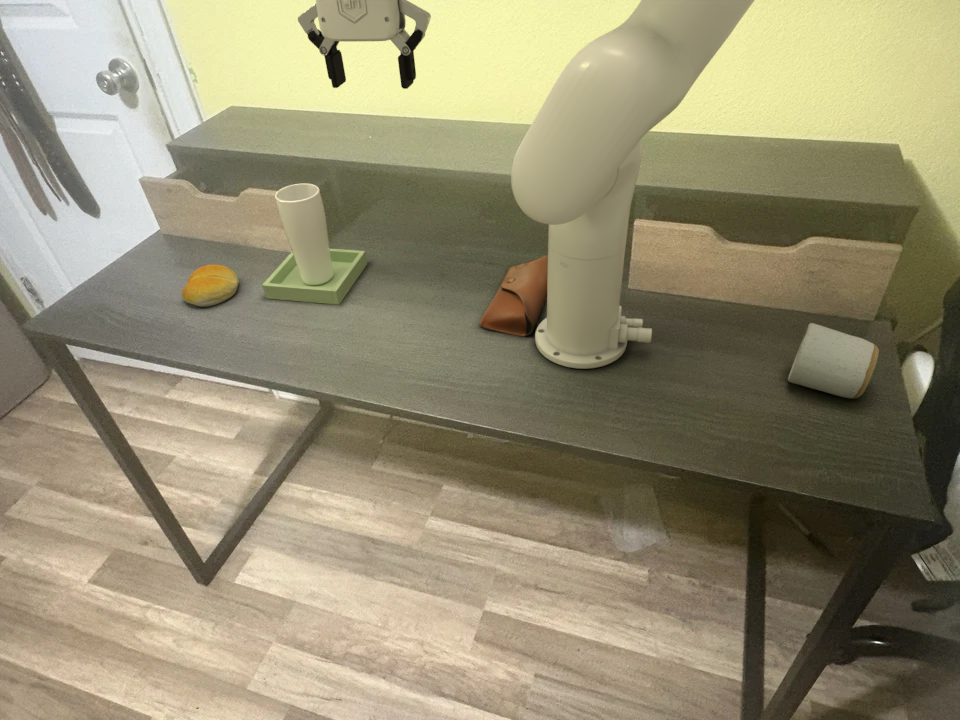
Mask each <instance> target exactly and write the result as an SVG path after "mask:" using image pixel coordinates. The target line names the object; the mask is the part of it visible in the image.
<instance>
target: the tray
mask: <svg viewBox="0 0 960 720" xmlns="http://www.w3.org/2000/svg"><path fill="white" fill-rule="evenodd" d="M366 253H367V252H366V251H365V250H357V249H343V248H330V254H331V261H332V266H333V271H334V275H333V277H332V278H331V280H329V281H328V282H326V283H324V284H320V285H309V284H306V283H304V282H303V281H302V279H301V277H300V273H299V269H298V266H297V264H296V261H295V258H294V255H293V253H292V251H290V253H289V254H288V255H287V256H286V257H285V259H284V260H283V261H282V262H281V263H280V264H279V265H278V266H277V268H276V269H275V270H274V271H273V272H272V273H271V274H270V275H269V277H268V278H267V279H266V280H265V281H264V282H263V283H262V285H261V286H262V290H263V294H264V296H265V299H270V300H282V301H292V302H303V303H314V304H316V303H317V304H328V305H337V306H338V305H340V304H341V303H342V301H343V300H344V298H345V297H346V296H347V294H348V293H349V291H350V290H351V288H352V287H353V286H354V284H355V283H356V281H357V280H358V278H359V277H360V275H361V274H362V273H363V271H364V270H365V268H366V267H367V265H368V264H369V263H368V259H367V258H368V257H367V254H366Z"/></svg>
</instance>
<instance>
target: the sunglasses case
mask: <svg viewBox="0 0 960 720" xmlns="http://www.w3.org/2000/svg"><path fill="white" fill-rule="evenodd" d="M547 281H548V253H546V254H544V255H542V256H541V257H538V258H537V259H533V260H529V261H526V262H523V263H520V264H517V265H511V266H510V267H509V268H508V269H507V272H506V274H505V276H504V278H503V280H502V281H501V283H500V285H499V287H498V289H497V291H496V292H495V293H494V296H493V297H492V300H491V301H490V303H489V304H488V306H487V308H486V309H485V311H484V313H483V314H482V316H481V318H480V320H479V323H478V325H479V326H480V327H482V328H483V329H487V330H490V331H493V332H497V333H500V334H507V335H512V336H517V337H522V338H523V337H528V336H529V335H531V334H532V333H533V332H534V331H535V328H536V325H537V323H538V320H539V318H540V315H541V313H542V311H543V308H544V305H545V303H546V301H547Z"/></svg>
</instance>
